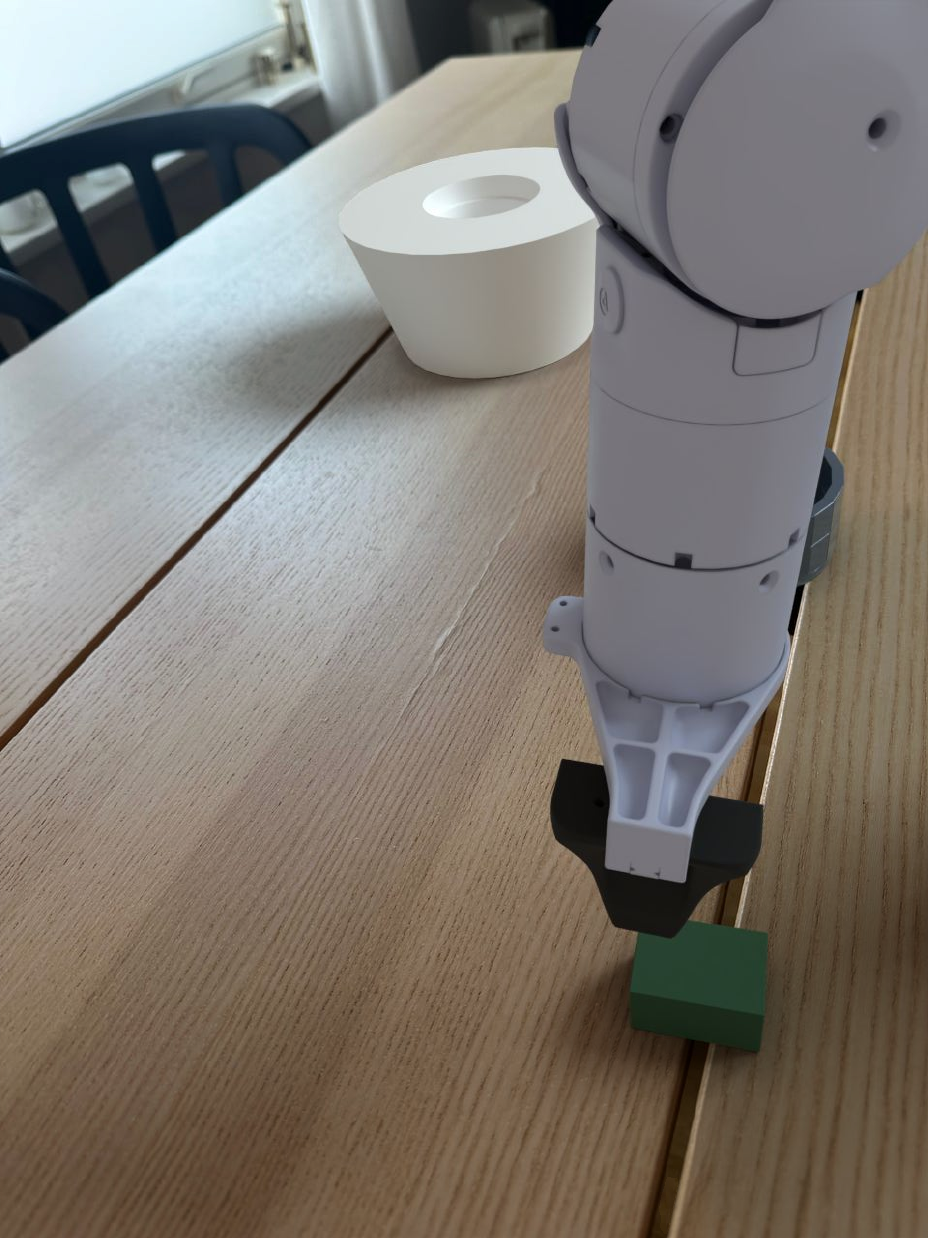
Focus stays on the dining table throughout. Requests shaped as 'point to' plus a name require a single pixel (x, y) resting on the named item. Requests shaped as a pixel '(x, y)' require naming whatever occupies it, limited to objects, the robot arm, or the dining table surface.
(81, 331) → the dining table surface
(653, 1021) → the green rectangular block
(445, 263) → the white tapered cylinder
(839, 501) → the basin
